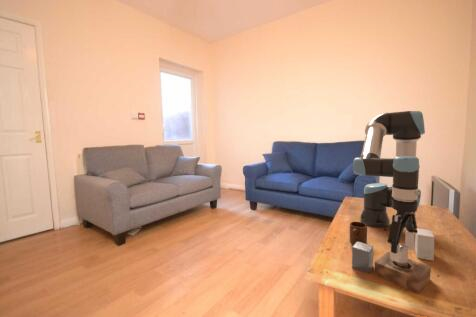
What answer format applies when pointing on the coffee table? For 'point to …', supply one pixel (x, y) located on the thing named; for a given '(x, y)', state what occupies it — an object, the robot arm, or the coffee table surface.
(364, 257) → the square block
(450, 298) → the coffee table surface
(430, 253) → the small box
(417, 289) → the socket block
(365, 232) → the mug
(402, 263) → the round peg
